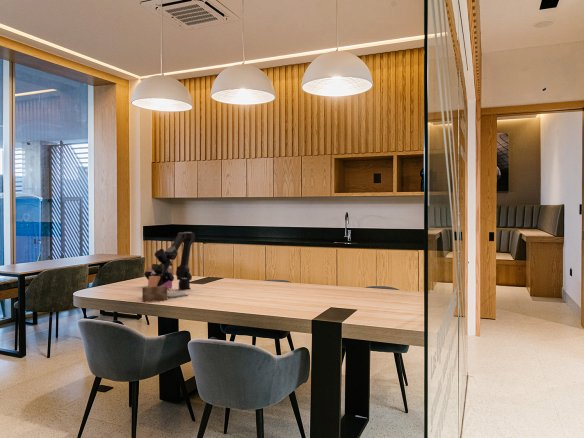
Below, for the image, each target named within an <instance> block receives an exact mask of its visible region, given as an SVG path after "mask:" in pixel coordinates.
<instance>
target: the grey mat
mask: <svg viewBox="0 0 584 438" xmlns="http://www.w3.org/2000/svg"><path fill="white" fill-rule="evenodd" d="M183 296H184V297H188V296H189V294H188V293H185V292H181V291H175V292H169V293H168V292H167V297H168V298H167V299H174V298H175V297H176V298H182V297H183ZM184 297H183V298H184Z"/></svg>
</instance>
